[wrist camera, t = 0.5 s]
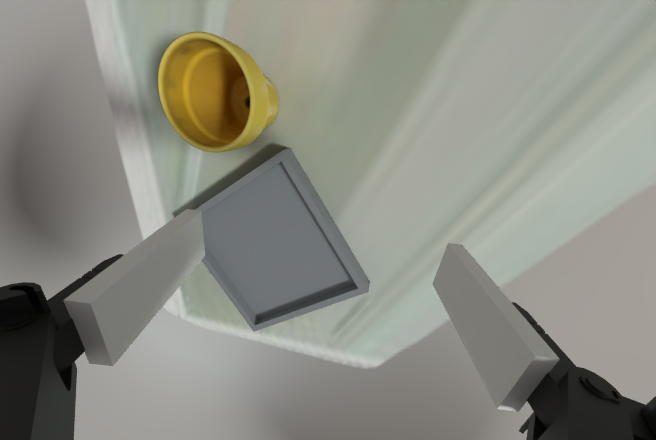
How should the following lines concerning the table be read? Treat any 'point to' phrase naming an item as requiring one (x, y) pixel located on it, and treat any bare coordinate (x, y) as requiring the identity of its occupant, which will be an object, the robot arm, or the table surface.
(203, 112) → the plant pot
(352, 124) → the table surface
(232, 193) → the tray
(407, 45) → the table surface
